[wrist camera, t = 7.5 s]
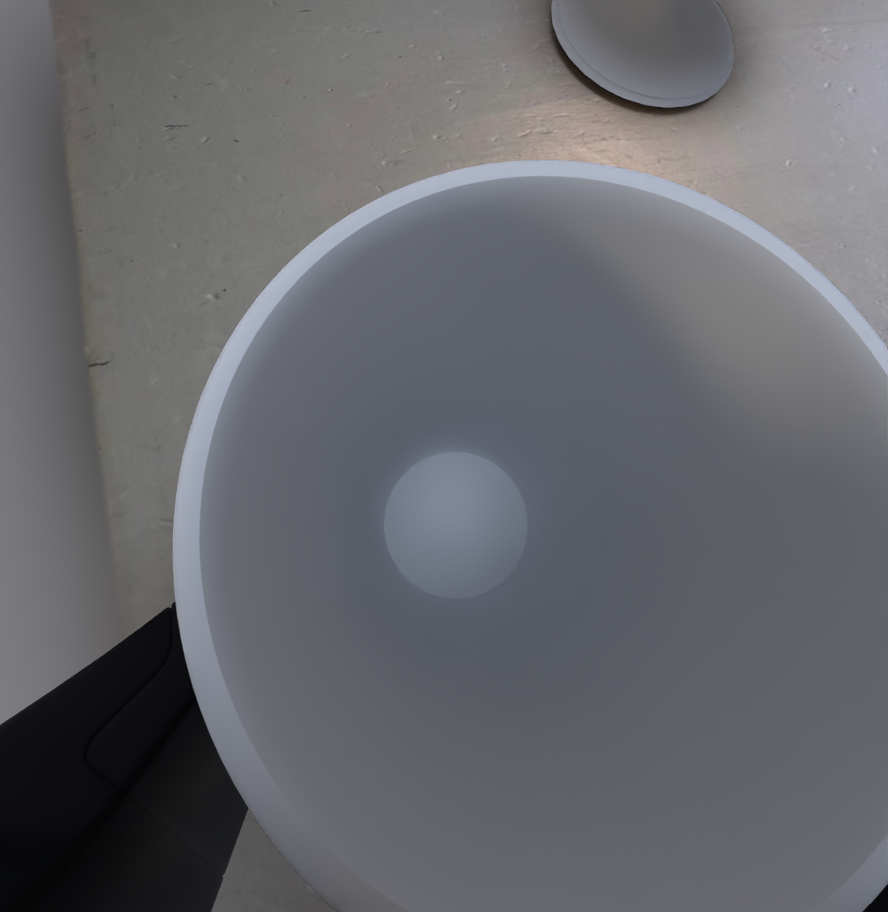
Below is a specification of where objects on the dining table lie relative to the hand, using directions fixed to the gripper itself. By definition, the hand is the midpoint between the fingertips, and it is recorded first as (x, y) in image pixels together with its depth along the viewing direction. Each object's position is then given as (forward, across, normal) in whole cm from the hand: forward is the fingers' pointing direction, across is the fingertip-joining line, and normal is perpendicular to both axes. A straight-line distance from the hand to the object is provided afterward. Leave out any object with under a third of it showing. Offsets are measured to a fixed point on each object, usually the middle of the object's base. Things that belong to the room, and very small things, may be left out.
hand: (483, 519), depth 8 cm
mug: (+4, 0, +6) cm, 7 cm away
